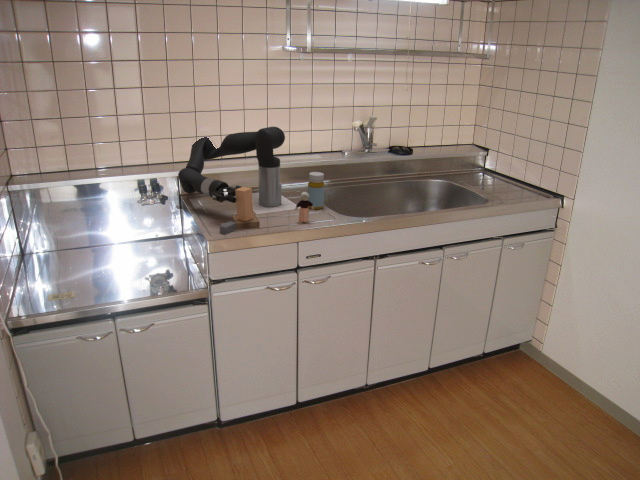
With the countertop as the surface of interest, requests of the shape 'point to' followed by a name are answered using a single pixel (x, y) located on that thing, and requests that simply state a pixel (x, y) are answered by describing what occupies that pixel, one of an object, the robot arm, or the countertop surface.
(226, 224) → the charcoal brick
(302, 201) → the grandmother figurine
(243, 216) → the light brown brick
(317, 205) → the bottle
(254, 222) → the walnut block
